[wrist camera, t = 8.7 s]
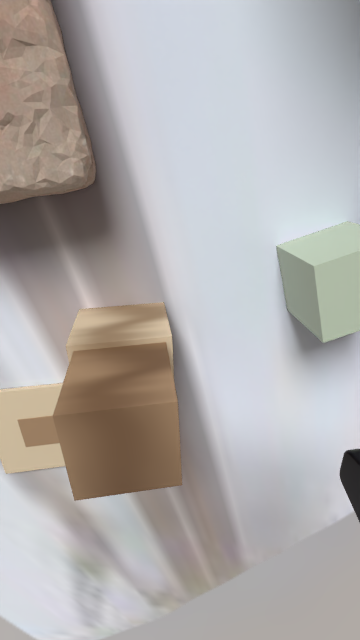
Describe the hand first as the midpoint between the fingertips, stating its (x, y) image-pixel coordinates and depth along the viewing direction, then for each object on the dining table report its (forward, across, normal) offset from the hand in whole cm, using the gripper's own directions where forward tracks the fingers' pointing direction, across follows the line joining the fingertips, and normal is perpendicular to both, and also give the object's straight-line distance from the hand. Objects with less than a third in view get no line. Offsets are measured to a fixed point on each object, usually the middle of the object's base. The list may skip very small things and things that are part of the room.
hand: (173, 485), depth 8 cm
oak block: (+13, +2, +3) cm, 13 cm away
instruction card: (+13, +7, +9) cm, 17 cm away
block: (+13, -10, -1) cm, 17 cm away
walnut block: (+8, +2, +3) cm, 9 cm away
